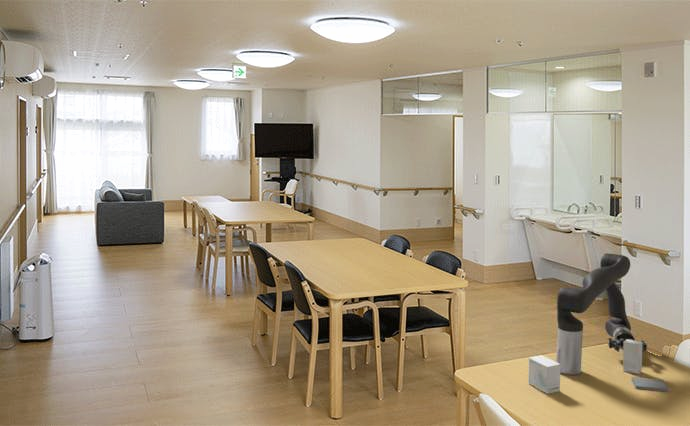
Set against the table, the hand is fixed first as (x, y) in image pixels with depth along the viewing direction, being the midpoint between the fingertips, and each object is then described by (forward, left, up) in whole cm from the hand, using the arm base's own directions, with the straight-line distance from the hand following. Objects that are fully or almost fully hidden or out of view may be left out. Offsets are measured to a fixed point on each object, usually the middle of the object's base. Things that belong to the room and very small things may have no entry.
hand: (629, 350), depth 258 cm
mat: (+4, -20, -7) cm, 21 cm away
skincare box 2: (0, -6, -7) cm, 9 cm away
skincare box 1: (-34, -32, -7) cm, 47 cm away
